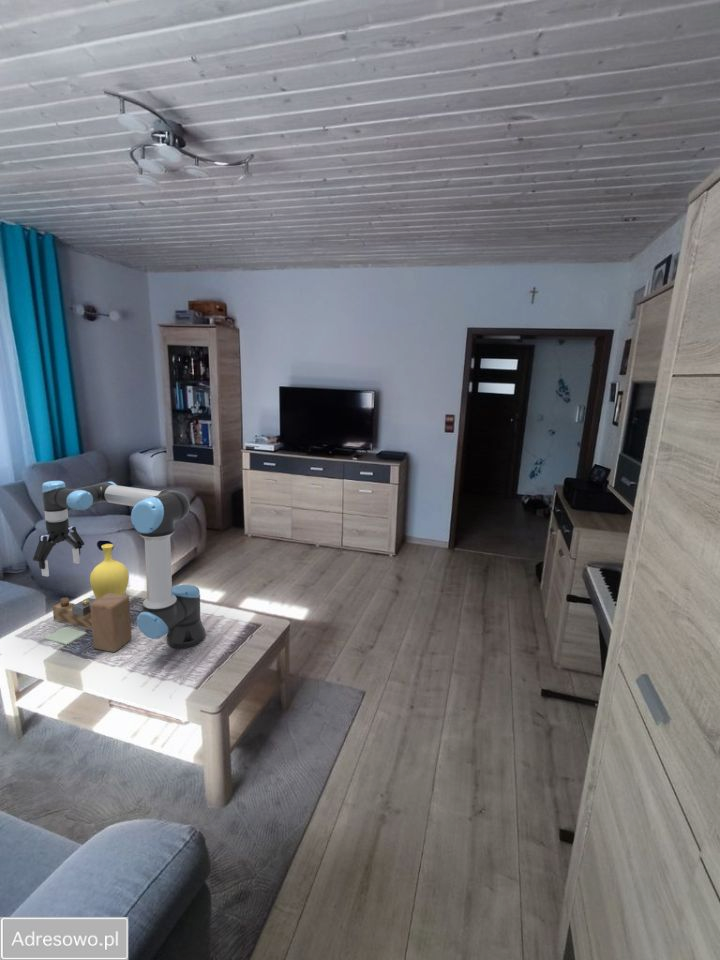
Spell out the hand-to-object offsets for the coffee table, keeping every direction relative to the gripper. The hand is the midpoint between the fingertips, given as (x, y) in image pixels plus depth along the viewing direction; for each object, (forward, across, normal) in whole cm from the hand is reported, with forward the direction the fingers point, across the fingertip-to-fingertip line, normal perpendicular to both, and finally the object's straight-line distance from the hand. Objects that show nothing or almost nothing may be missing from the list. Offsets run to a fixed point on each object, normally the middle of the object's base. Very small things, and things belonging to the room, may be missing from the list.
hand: (61, 569), depth 176 cm
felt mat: (+28, +4, +3) cm, 28 cm away
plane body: (+28, -6, +1) cm, 28 cm away
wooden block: (+28, +1, +25) cm, 38 cm away
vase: (+28, -27, -5) cm, 39 cm away
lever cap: (+21, -6, +4) cm, 22 cm away
